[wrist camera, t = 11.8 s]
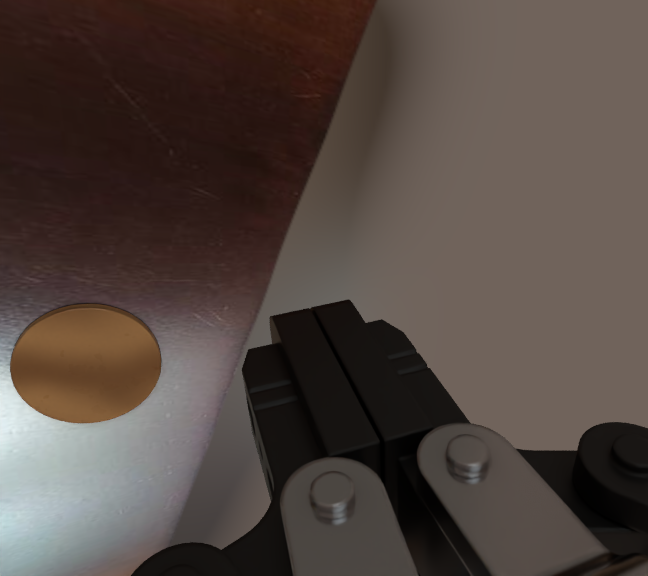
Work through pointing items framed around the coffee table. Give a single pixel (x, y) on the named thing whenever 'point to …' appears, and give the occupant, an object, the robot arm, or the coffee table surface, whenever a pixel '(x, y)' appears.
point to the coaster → (85, 363)
